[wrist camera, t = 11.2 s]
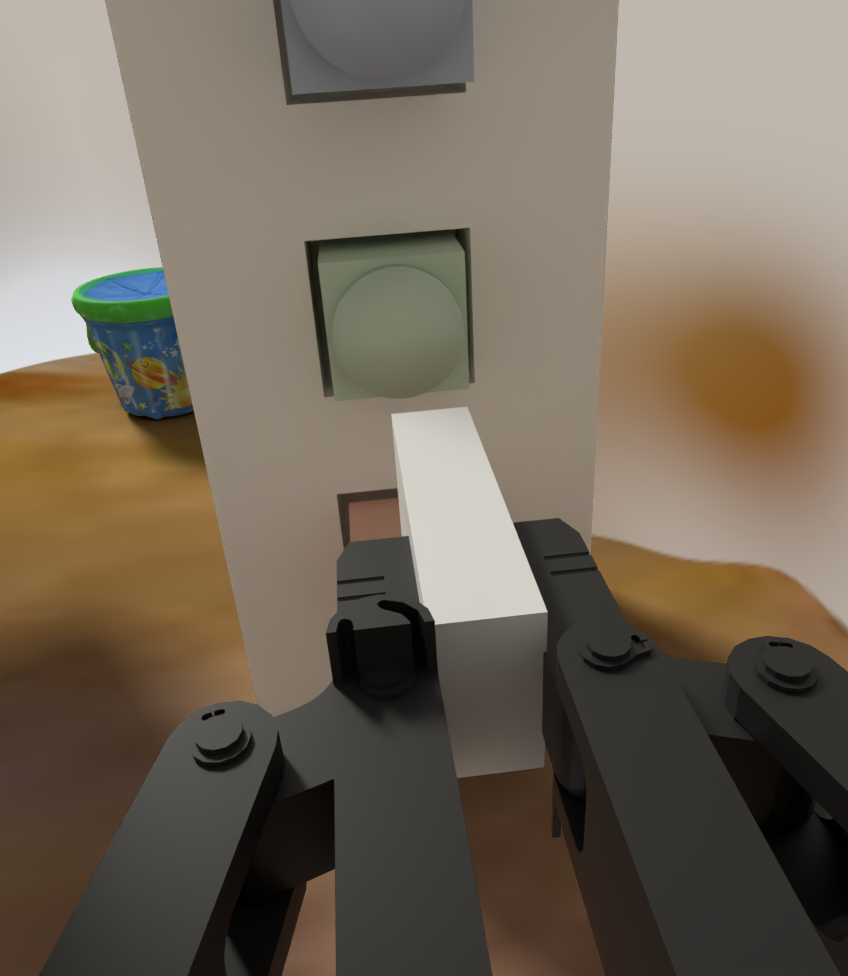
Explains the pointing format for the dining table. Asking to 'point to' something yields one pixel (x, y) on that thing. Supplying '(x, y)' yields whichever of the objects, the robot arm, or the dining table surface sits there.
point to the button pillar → (355, 213)
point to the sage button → (395, 314)
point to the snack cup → (136, 340)
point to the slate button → (377, 43)
